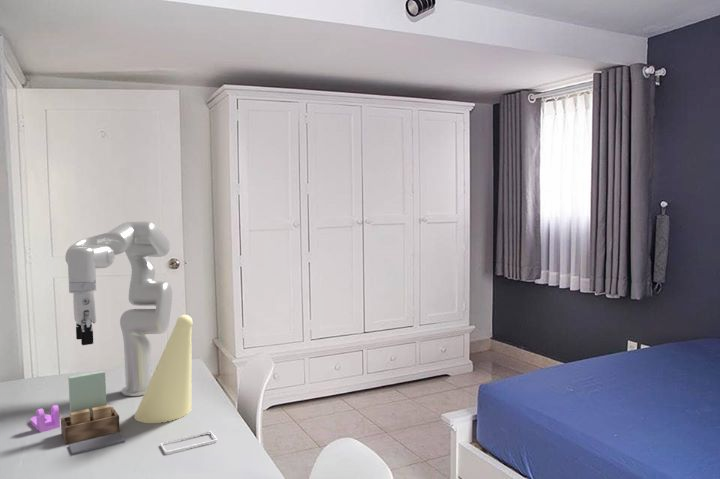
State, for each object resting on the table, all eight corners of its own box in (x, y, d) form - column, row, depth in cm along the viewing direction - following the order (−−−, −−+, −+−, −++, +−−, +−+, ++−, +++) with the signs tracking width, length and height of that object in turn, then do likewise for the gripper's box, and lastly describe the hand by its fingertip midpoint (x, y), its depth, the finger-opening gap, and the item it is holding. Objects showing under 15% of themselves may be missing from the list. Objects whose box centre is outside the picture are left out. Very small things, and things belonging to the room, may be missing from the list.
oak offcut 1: (89, 434, 168) (88, 408, 167) (90, 436, 165) (89, 411, 165) (71, 438, 165) (70, 412, 164) (72, 441, 163) (71, 415, 162)
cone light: (123, 415, 182) (118, 312, 180) (169, 399, 197) (166, 304, 195) (167, 432, 168) (163, 321, 166) (214, 413, 183) (211, 311, 181)
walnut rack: (113, 421, 177) (112, 407, 176) (119, 431, 169) (119, 415, 169) (61, 433, 168) (60, 418, 168) (65, 444, 160) (64, 427, 160)
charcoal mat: (119, 434, 167) (119, 432, 167) (124, 442, 161) (124, 440, 161) (68, 446, 159) (68, 444, 159) (72, 455, 153) (72, 453, 153)
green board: (105, 425, 174) (103, 370, 173) (107, 427, 172) (105, 372, 171) (71, 433, 168) (68, 376, 167) (72, 435, 166) (69, 378, 165)
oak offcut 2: (110, 429, 171) (109, 404, 171) (112, 431, 169) (110, 406, 168) (93, 433, 168) (91, 408, 168) (94, 435, 166) (93, 410, 166)
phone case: (165, 456, 152) (218, 443, 160) (165, 452, 152) (217, 439, 160) (160, 447, 159) (210, 435, 167) (160, 442, 159) (210, 430, 166)
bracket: (60, 427, 173) (59, 406, 173) (40, 432, 169) (39, 411, 169) (47, 416, 182) (46, 396, 182) (28, 421, 178) (27, 401, 178)
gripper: (101, 288, 163) (103, 345, 163) (90, 283, 177) (92, 335, 177) (73, 291, 158) (75, 348, 159) (65, 285, 172) (67, 338, 173)
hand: (84, 341), depth 168 cm, fingers open, 9 cm apart
